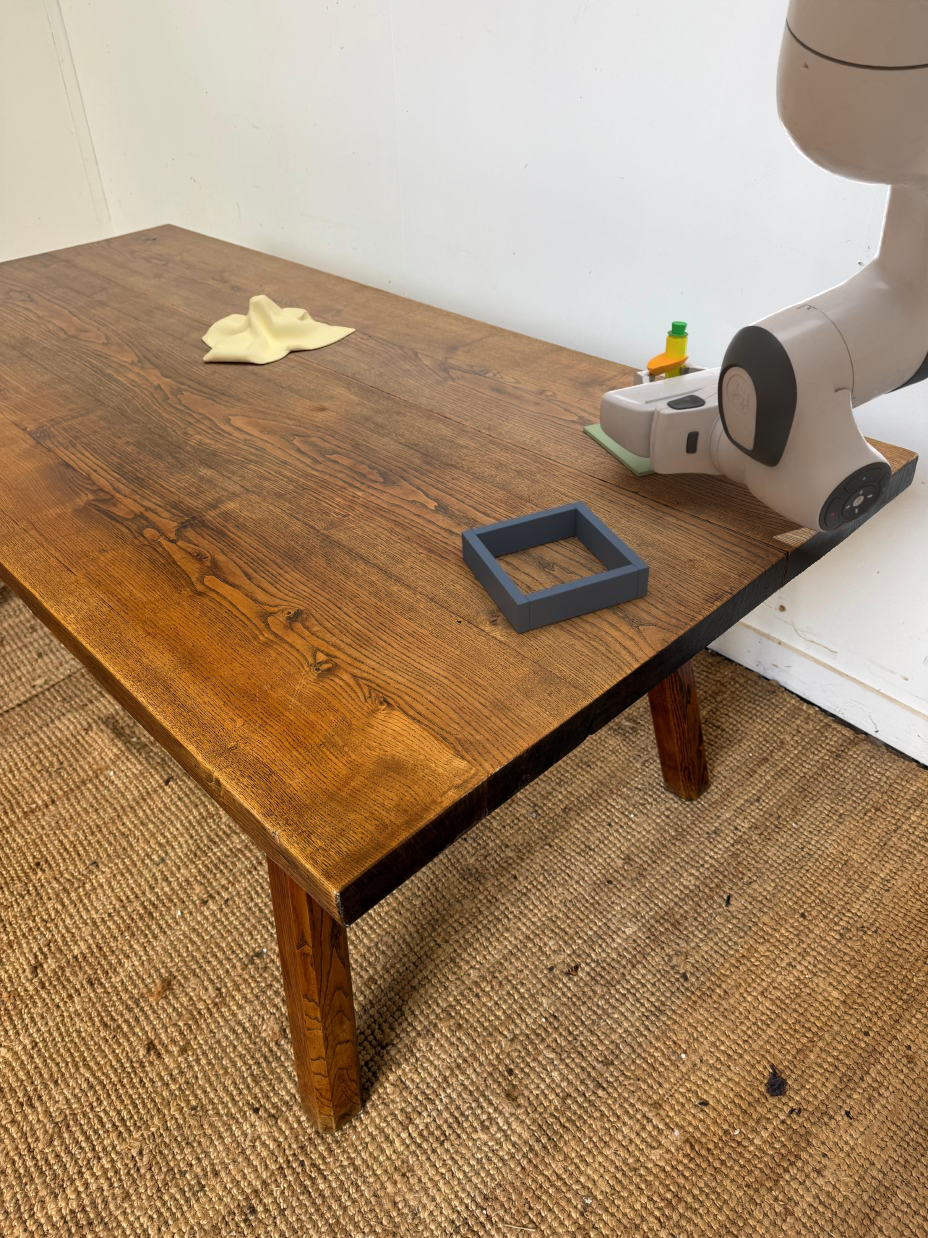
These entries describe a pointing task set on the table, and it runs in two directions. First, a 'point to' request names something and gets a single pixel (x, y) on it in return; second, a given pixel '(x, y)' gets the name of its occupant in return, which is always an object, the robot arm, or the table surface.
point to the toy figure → (671, 353)
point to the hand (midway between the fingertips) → (658, 373)
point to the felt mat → (619, 451)
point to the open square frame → (565, 599)
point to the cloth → (267, 333)
